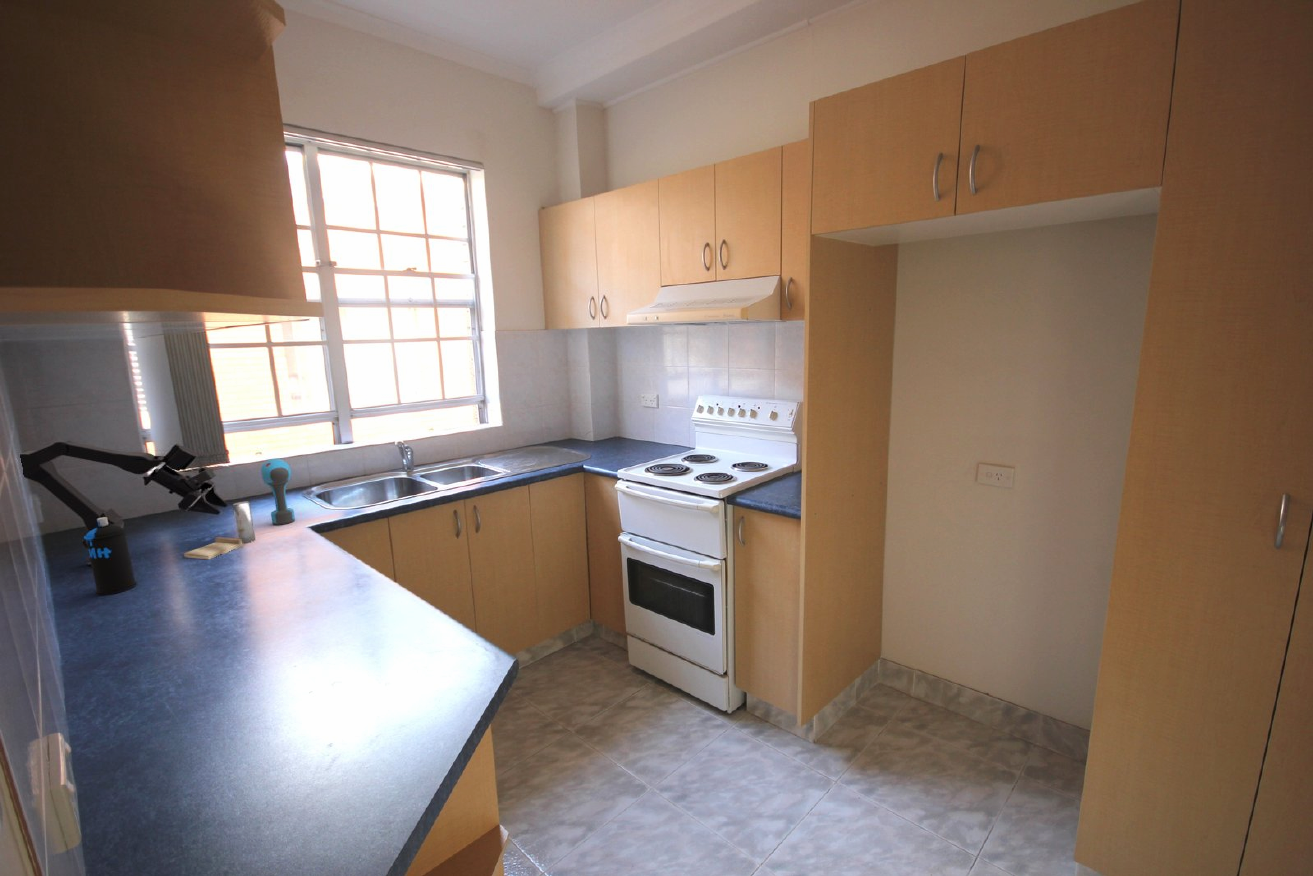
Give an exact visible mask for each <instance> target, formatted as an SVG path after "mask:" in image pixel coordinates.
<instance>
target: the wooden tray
mask: <svg viewBox="0 0 1313 876" xmlns="http://www.w3.org/2000/svg"><path fill="white" fill-rule="evenodd" d="M214 540H215V542H213V543H209V544H208V545H203V546H202V547H198V548H195V549H193V550H190V551H187V552H185V553H183V555H184V558H189V559H191V558H192V559H198V560H199V559H201V560H212V559H213V558H217V557H219V556H221V555H220V554H222V555H225V554H227V553H230V552H232V551H231V550H233V549H235V550H238V549H240V548H242V546H243V547H244V544H242V539H238V538H233V537H222V536H218V537H215V538H214ZM229 551H230V552H229ZM233 551H234V550H233ZM218 555H219V556H218ZM216 556H217V557H216Z"/></svg>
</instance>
